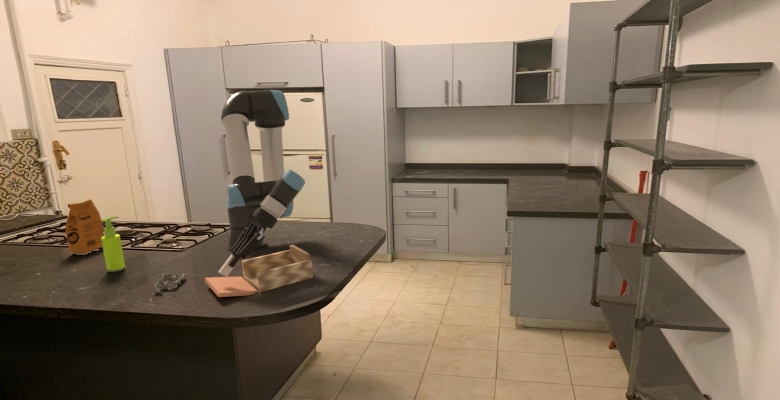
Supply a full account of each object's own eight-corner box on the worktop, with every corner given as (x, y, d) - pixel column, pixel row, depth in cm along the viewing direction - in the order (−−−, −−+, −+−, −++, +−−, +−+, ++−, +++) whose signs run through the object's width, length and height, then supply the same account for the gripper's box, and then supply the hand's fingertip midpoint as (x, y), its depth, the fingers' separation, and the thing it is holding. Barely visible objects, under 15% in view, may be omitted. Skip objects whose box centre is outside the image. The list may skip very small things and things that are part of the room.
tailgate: (241, 276, 151) (205, 277, 144) (257, 290, 138) (219, 293, 132) (240, 279, 151) (205, 281, 144) (256, 294, 138) (218, 297, 132)
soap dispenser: (131, 267, 170) (122, 215, 166) (115, 273, 164) (105, 220, 160) (120, 265, 172) (111, 215, 168) (103, 272, 166) (93, 219, 162)
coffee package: (65, 255, 188) (55, 204, 183) (92, 246, 200) (83, 198, 195) (83, 257, 185) (73, 205, 181) (110, 247, 197) (101, 198, 192)
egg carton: (165, 282, 154) (164, 271, 153) (188, 281, 154) (186, 269, 153) (151, 295, 143) (149, 283, 143) (175, 293, 144) (173, 281, 143)
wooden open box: (293, 267, 162) (291, 243, 160) (313, 280, 149) (310, 254, 147) (243, 280, 152) (240, 254, 150) (260, 295, 139) (257, 267, 137)
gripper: (285, 223, 141) (238, 286, 136) (270, 215, 152) (226, 274, 146) (267, 209, 137) (217, 274, 132) (253, 202, 148) (207, 262, 142)
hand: (222, 274), depth 139 cm, fingers closed
